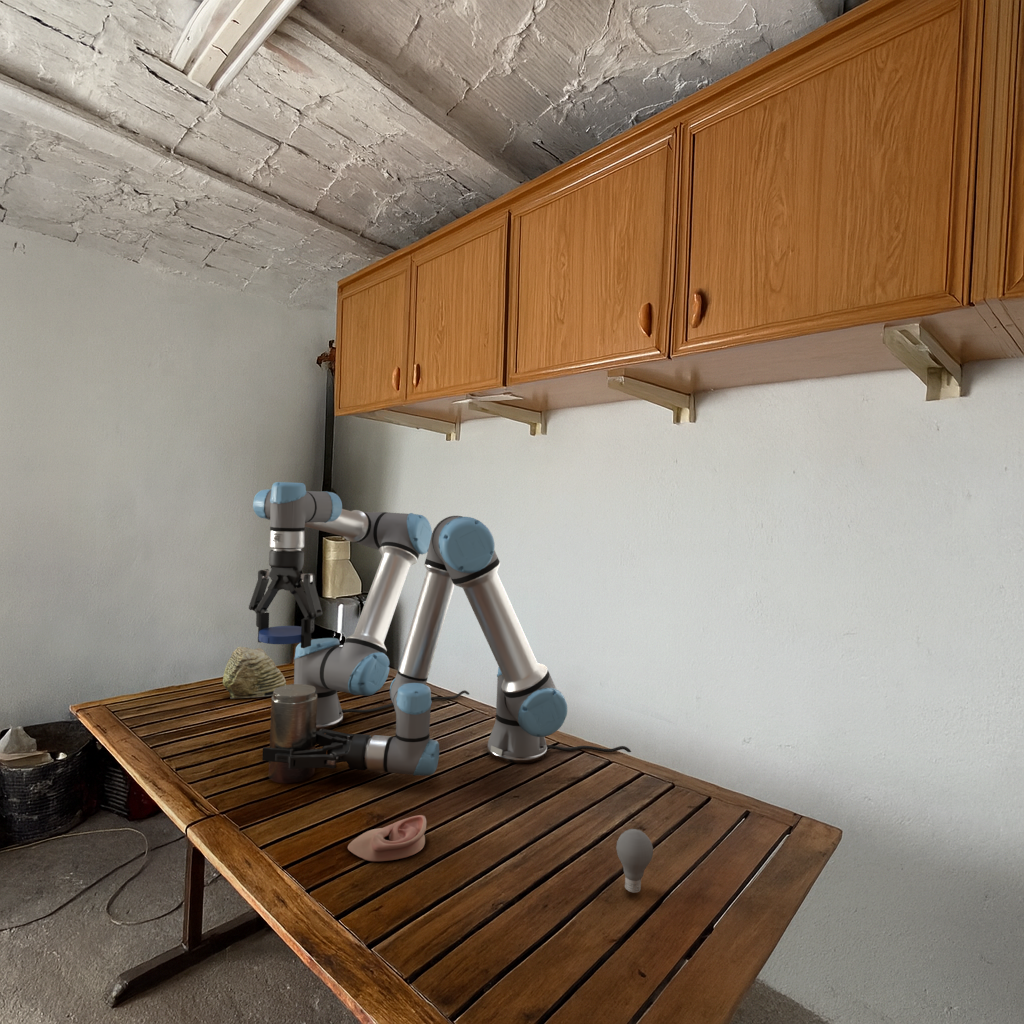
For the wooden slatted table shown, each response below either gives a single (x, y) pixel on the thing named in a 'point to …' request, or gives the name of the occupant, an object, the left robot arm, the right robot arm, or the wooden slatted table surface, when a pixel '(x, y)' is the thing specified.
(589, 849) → the wooden slatted table surface
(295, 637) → the lid
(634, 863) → the light bulb
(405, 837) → the anatomical model
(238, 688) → the fossil
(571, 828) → the wooden slatted table surface
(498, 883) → the wooden slatted table surface
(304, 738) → the jar
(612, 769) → the wooden slatted table surface
